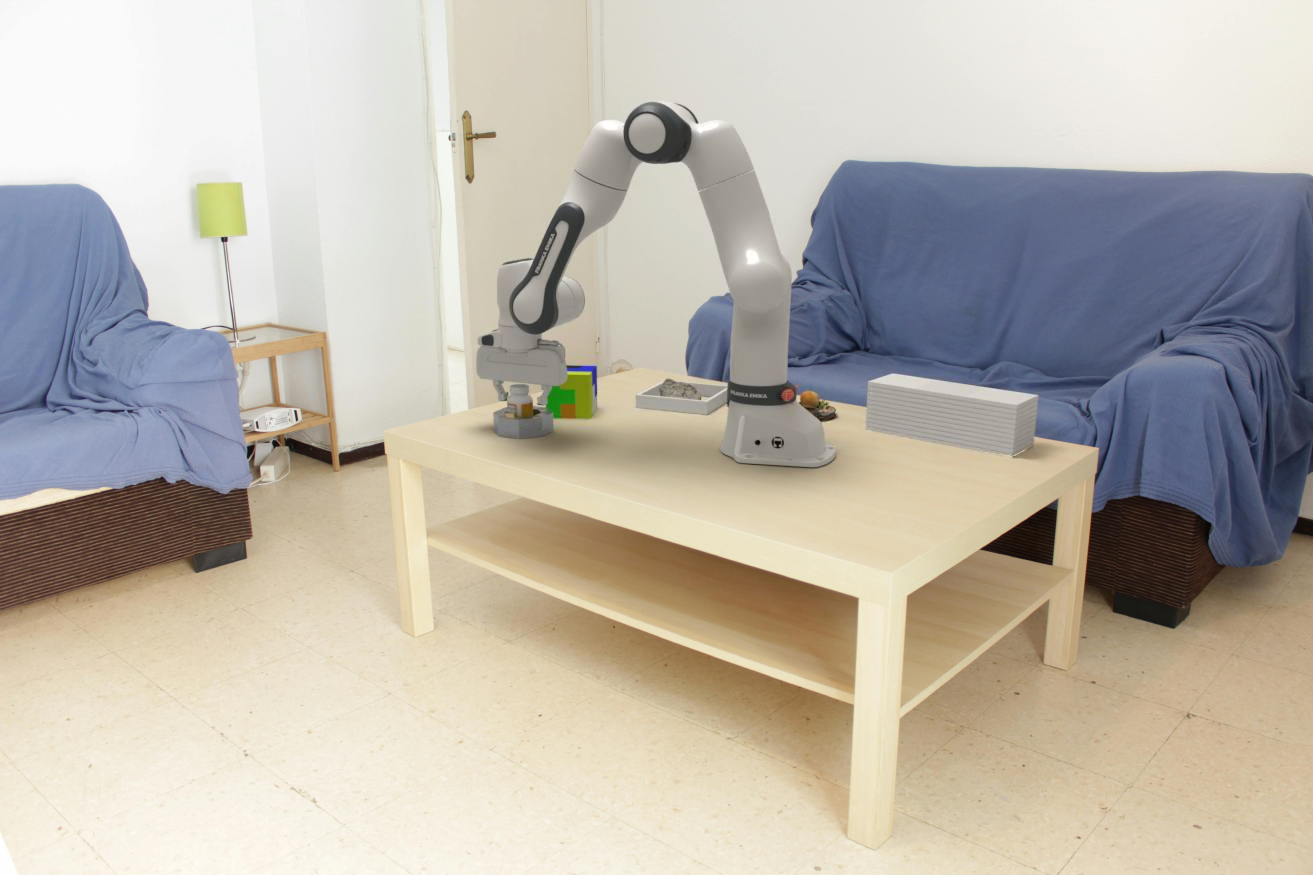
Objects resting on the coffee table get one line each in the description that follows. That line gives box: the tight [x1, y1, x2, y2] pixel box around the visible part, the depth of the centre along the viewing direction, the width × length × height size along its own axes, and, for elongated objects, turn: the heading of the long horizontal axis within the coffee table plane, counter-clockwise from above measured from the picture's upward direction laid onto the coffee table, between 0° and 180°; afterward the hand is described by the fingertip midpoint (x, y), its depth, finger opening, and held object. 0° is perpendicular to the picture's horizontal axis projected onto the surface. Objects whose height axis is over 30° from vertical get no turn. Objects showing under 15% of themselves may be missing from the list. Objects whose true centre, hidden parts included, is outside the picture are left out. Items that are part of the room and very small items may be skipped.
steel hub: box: [492, 405, 555, 440], centre depth 212 cm, size 12×12×5 cm
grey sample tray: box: [635, 379, 728, 416], centre depth 237 cm, size 18×18×3 cm
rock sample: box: [658, 377, 704, 401], centre depth 233 cm, size 11×8×9 cm
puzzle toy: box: [545, 364, 598, 420], centre depth 227 cm, size 10×10×10 cm
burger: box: [798, 388, 837, 423], centre depth 225 cm, size 12×12×8 cm
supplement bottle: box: [506, 383, 534, 417], centre depth 212 cm, size 5×5×10 cm
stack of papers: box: [865, 372, 1040, 456], centre depth 206 cm, size 32×11×11 cm, turn 49°
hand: (522, 402), depth 211 cm, fingers open, 8 cm apart
